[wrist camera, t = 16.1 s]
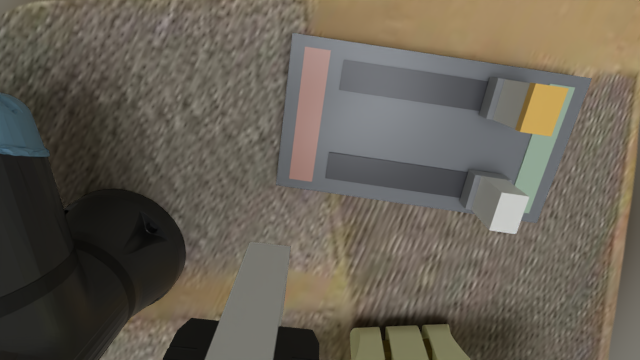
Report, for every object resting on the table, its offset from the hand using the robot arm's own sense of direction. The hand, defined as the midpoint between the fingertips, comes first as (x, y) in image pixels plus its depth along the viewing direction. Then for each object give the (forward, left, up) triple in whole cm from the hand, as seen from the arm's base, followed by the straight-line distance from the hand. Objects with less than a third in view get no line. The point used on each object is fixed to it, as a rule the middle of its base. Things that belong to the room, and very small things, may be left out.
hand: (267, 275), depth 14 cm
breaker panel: (+11, +2, -27) cm, 29 cm away
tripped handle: (+18, +6, -24) cm, 30 cm away
